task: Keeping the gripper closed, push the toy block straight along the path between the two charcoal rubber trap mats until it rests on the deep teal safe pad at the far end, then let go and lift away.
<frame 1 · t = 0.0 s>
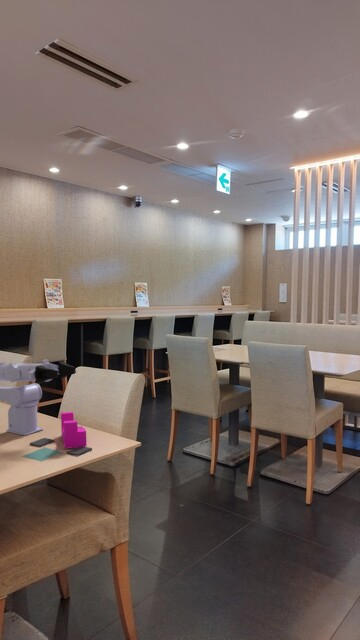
hand: (66, 372, 144), 22 cm above the table, tool horizontal, fingers open, 7 cm apart
toy block: (73, 441, 144), on the table, touching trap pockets
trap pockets: (60, 447, 139), on the table
safe pad: (43, 453, 133), on the table
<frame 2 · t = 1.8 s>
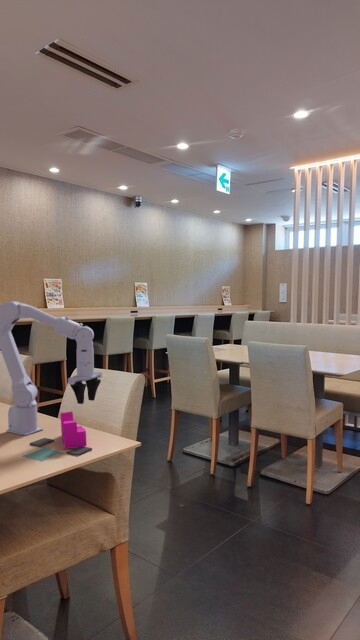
hand: (86, 401, 157), 9 cm above the table, tool pointing down, fingers open, 5 cm apart
nothing on the table moved.
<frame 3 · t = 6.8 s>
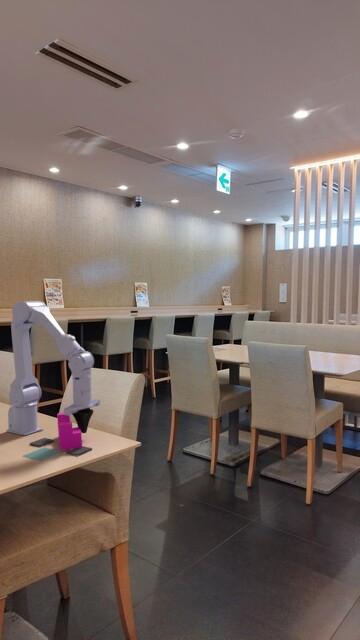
hand: (83, 432, 147), 2 cm above the table, tool pointing down, fingers closed
toy block: (69, 442, 143), on the table, touching gripper
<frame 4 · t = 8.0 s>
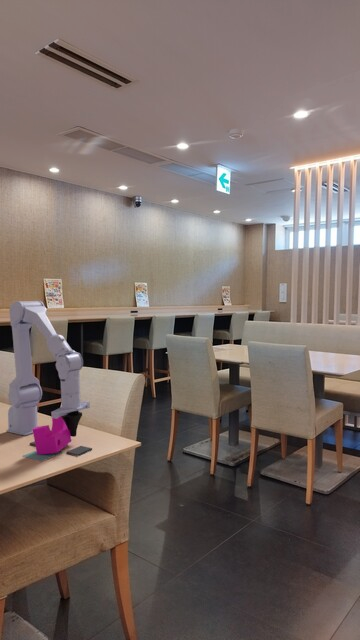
hand: (72, 436, 142), 2 cm above the table, tool pointing down, fingers closed, pressing on toy block
toy block: (58, 445, 139), on the table, touching gripper, safe pad, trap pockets
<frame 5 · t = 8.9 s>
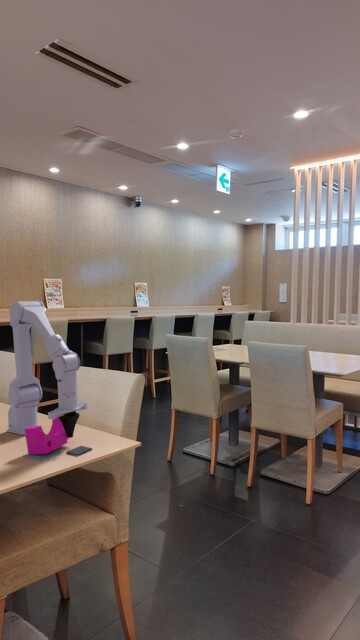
hand: (69, 437, 141), 2 cm above the table, tool pointing down, fingers closed, pressing on toy block
toy block: (53, 446, 138), on the table, touching gripper, safe pad, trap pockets
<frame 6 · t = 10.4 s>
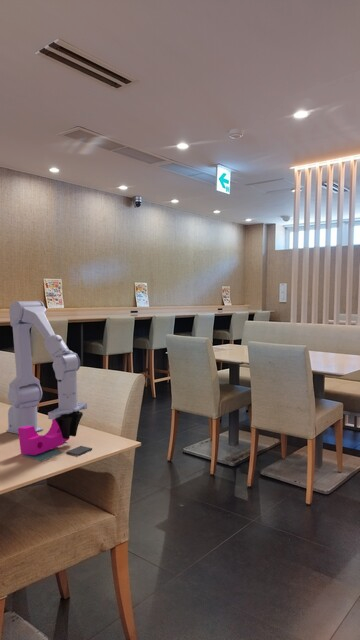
hand: (69, 437, 141), 2 cm above the table, tool pointing down, fingers closed
toy block: (48, 447, 138), on the table, touching gripper, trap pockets
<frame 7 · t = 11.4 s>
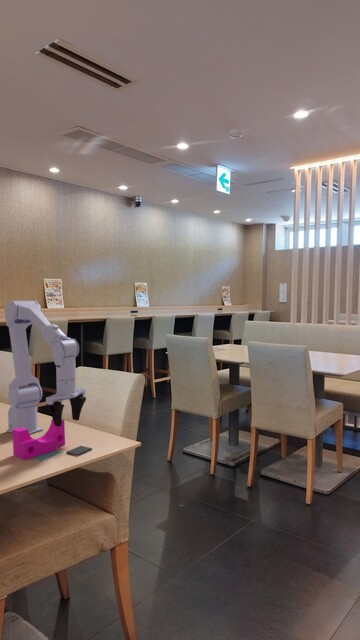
hand: (67, 422, 141), 7 cm above the table, tool pointing down, fingers open, 7 cm apart
toy block: (42, 450, 136), on the table, touching gripper
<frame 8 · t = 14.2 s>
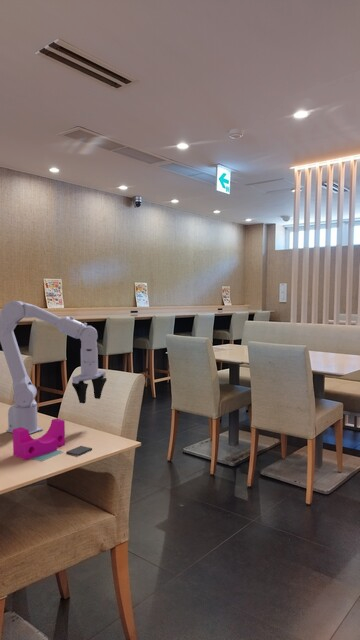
hand: (90, 400, 158), 9 cm above the table, tool pointing down, fingers open, 7 cm apart
toy block: (42, 451, 136), on the table, touching safe pad
at the end: toy block inside the target area (3.1 cm from its centre), on the table; toy block tilted 0°; toy block touching safe pad, table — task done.
